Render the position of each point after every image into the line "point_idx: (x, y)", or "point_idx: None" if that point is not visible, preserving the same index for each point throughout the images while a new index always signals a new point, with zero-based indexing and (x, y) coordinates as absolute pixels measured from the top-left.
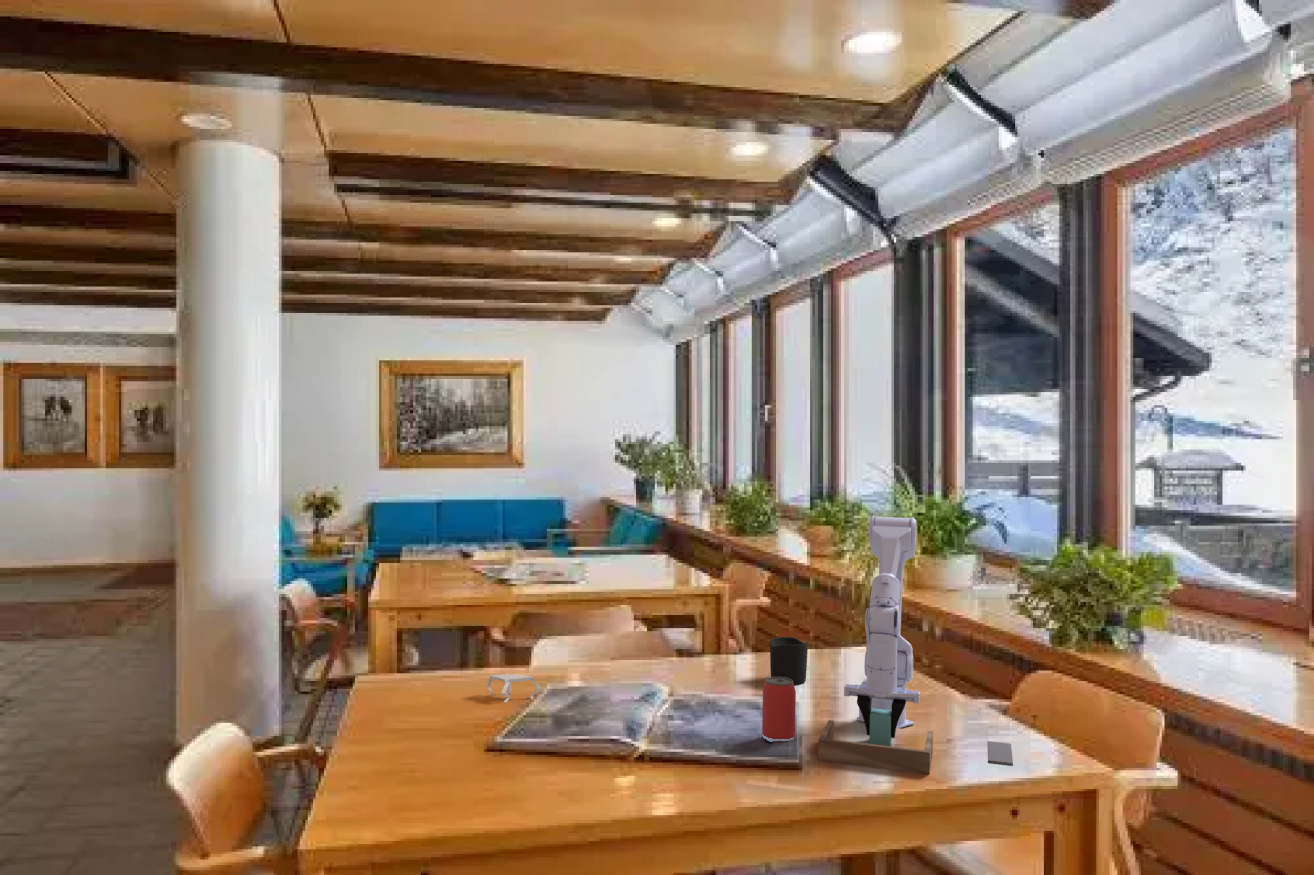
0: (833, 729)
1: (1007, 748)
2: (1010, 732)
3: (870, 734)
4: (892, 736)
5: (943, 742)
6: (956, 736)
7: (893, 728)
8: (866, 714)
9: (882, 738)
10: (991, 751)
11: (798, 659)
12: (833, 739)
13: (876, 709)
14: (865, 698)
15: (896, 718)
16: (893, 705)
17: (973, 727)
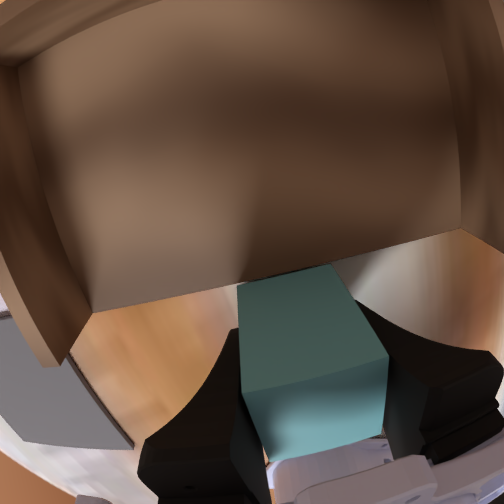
0: (489, 235)
1: (6, 416)
2: (78, 488)
3: (340, 286)
4: (236, 330)
5: (126, 422)
6: (130, 460)
7: (229, 352)
8: (405, 348)
9: (276, 293)
10: (4, 390)
11: (492, 500)
12: (463, 225)
13: (356, 432)
14: (454, 436)
15: (207, 394)
16: (211, 453)
17: (139, 497)
